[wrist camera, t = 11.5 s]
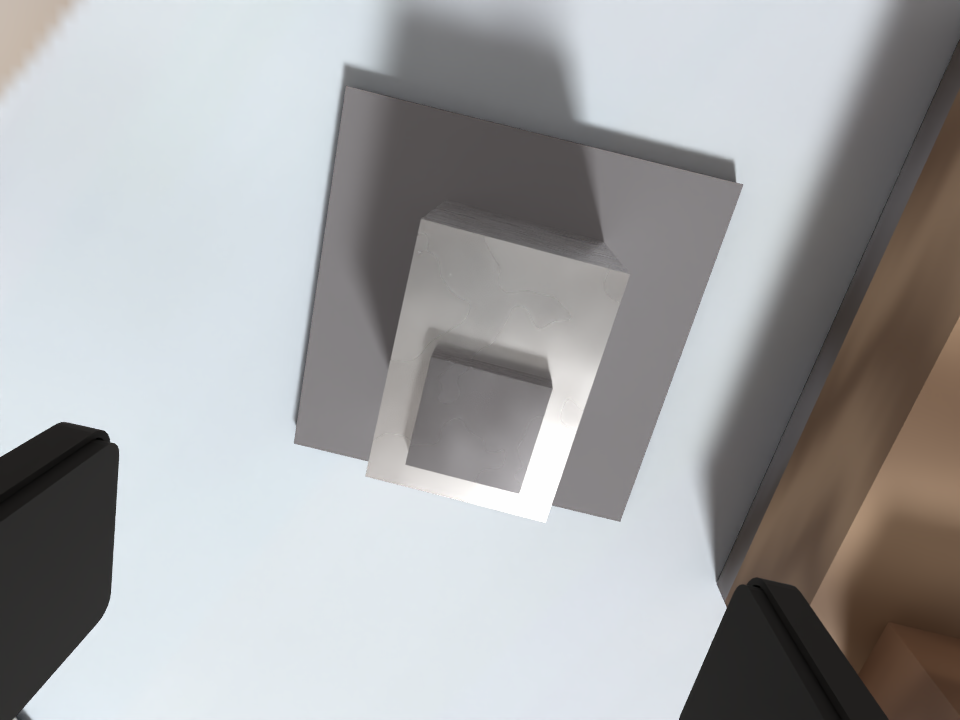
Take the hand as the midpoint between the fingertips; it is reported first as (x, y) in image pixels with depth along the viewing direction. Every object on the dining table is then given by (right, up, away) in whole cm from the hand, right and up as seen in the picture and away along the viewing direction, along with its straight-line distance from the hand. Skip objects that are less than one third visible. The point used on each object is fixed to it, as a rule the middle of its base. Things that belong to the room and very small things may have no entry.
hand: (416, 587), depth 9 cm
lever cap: (+1, +4, +11) cm, 12 cm away
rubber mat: (+2, +5, +12) cm, 13 cm away
